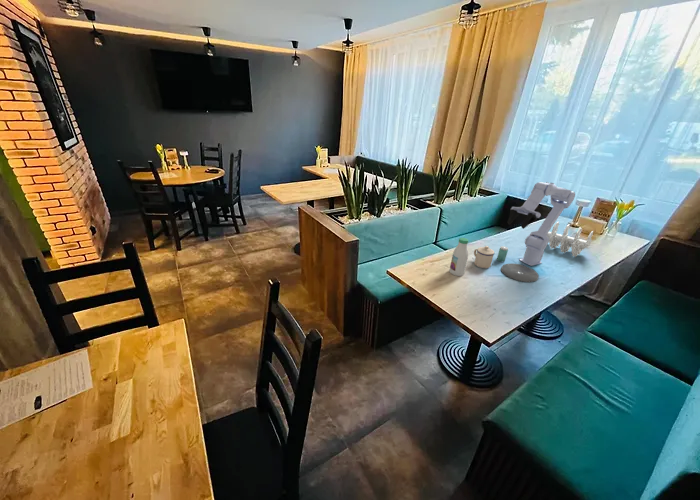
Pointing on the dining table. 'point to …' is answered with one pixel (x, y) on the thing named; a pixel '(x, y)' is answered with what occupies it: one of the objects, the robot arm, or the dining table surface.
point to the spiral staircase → (568, 240)
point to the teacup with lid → (483, 257)
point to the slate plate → (519, 272)
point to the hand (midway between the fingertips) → (515, 225)
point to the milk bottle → (459, 258)
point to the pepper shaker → (502, 253)
